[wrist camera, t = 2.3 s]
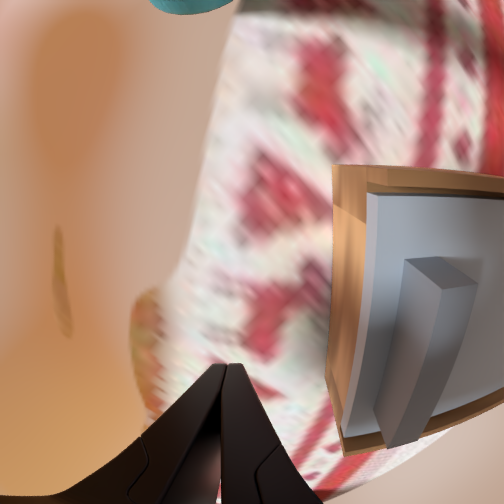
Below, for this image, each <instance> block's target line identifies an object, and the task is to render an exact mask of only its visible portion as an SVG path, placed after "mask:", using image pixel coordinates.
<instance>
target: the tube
mask: <svg viewBox="0 0 504 504" xmlns="http://www.w3.org/2000/svg"><path fill="white" fill-rule="evenodd" d="M232 1H233V0H150V2H151V3H152V4H153V5H154V6H155V7H156V8H158V9H159V10H162V11H164V12H166V13H171V14H178V15H191V14H199V13H204V12H209V11H212V10H214V9H217V8H220V7H222V6H224V5H226V4H228V3H230V2H232Z"/></svg>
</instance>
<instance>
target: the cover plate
mask: <svg viewBox="0 0 504 504" xmlns="http://www.w3.org/2000/svg"><path fill="white" fill-rule="evenodd" d="M502 387H504V198H503V197H491V196H477V195H460V194H438V193H398V192H367V220H366V248H365V265H364V279H363V290H362V300H361V310H360V318H359V326H358V334H357V341H356V348H355V354H354V360H353V366H352V372H351V377H350V383H349V388H348V393H347V398H346V402H345V407H344V411H343V416H342V420H341V428H342V432H343V436H344V438H346V437H352V436H358V435H363V434H368V433H373V432H377V431H381V433H382V436H383V439H384V442H385V445H386V447H387V449H390V448H394V447H398V446H401V445H405V444H408V443H411V442H415V441H418V439H419V437H420V436H421V434H422V432H423V430H424V428H425V427H426V425H427V423H428V421H429V419H430V417H432V416H435V415H438V414H441V413H444V412H447V411H449V410H452V409H455V408H457V407H460V406H462V405H465V404H467V403H470V402H472V401H474V400H477V399H479V398H481V397H484V396H486V395H488V394H490V393H492V392H494V391H496V390H498V389H500V388H502Z"/></svg>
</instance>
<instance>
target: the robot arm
mask: <svg viewBox="0 0 504 504" xmlns="http://www.w3.org/2000/svg"><path fill="white" fill-rule="evenodd" d="M220 479H221V504H323V502H322V501H321V500H320V499H319V498H318V497H317V495H316V494H315V493H314V492H313V491H312V489H311V488H310V487H309V486H308V485H307V483H306V482H305V481H304V479H303V478H302V476H301V475H300V474H299V472H298V471H297V469H296V468H295V466H294V464H293V463H292V461H291V459H290V458H289V456H288V454H287V452H286V450H285V449H284V447H283V445H282V443H281V441H280V439H279V437H278V436H277V434H276V432H275V430H274V428H273V426H272V424H271V422H270V420H269V418H268V416H267V414H266V412H265V410H264V408H263V406H262V404H261V402H260V400H259V398H258V395H257V393H256V391H255V389H254V387H253V385H252V383H251V381H250V379H249V377H248V374H247V372H246V370H245V368H244V366H243V364H241V363H230V364H228V365H227V364H225V363H215V364H212V365H211V366H210V367H209V368H208V369H207V370H206V371H205V372H204V373H203V374H202V375H201V376H200V377H199V378H198V379H197V380H196V381H195V382H194V383H193V385H192V386H191V387H190V388H189V389H188V390H187V391H186V392H185V393H184V394H183V395H182V396H181V397H180V398H179V399H178V400H177V401H176V402H175V403H174V404H172V405H171V406H170V407H169V408H168V409H167V410H166V411H165V412H164V413H163V414H162V415H161V416H160V417H159V418H158V419H157V420H156V421H155V422H154V423H153V424H152V425H151V426H150V427H149V428H148V429H147V430H146V431H145V432H143V433H142V434H141V437H138V438H137V439H136V440H135V441H134V442H133V443H132V444H130V445H129V446H128V447H127V448H126V449H125V450H123V451H122V452H121V453H120V454H119V455H118V456H116V457H115V458H114V459H112V460H111V461H110V462H108V463H107V464H106V465H104V466H103V467H101V468H100V469H98V470H97V471H95V472H94V473H92V474H91V475H89V476H88V477H86V478H85V479H83V480H82V481H80V482H78V483H77V484H75V485H74V486H72V487H71V488H69V489H67V490H65V491H63V492H60V493H57V494H54V495H48V496H5V495H0V504H216V499H217V494H218V489H219V484H220Z"/></svg>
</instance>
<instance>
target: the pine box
mask: <svg viewBox="0 0 504 504" xmlns="http://www.w3.org/2000/svg"><path fill="white" fill-rule="evenodd" d="M332 186H333V267H332V293H331V311H330V326H329V339H328V350H327V361H326V370H325V380H326V384H327V388H328V392H329V396H330V400H331V404H332V408H333V412H334V416H335V421H336V425H337V429H338V433H339V438H340V442H341V447H342V451H343V456H344V457H346V456H351V455H357V454H362V453H367V452H371V451H376V450H380V449H384V448H387V447H386V445H385V442H384V439H383V436H382V433H381V431H377V432H373V433H368V434H363V435H358V436H352V437H346V438H344V436H343V432H342V428H341V420H342V416H343V411H344V407H345V402H346V398H347V393H348V388H349V383H350V377H351V372H352V366H353V360H354V354H355V348H356V341H357V334H358V326H359V318H360V310H361V300H362V290H363V279H364V265H365V248H366V220H367V192H398V193H438V194H460V195H477V196H491V197H503V198H504V177H502V176H496V175H489V174H481V173H474V172H465V171H456V170H446V169H435V168H422V167H406V166H385V165H332ZM502 403H504V387H502V388H500V389H498V390H496V391H494V392H492V393H490V394H488V395H486V396H484V397H481V398H479V399H477V400H474V401H472V402H470V403H467V404H465V405H462V406H460V407H457V408H455V409H452V410H449V411H447V412H444V413H441V414H438V415H435V416H432V417H430V419H429V421H428V423H427V425H426V427H425V428H424V430H423V432H422V434H421V436H420V437H419V438H422V437H425V436H428V435H431V434H434V433H437V432H440V431H442V430H445V429H448V428H450V427H453V426H455V425H458V424H460V423H462V422H465V421H467V420H469V419H471V418H474V417H476V416H478V415H480V414H482V413H484V412H486V411H488V410H490V409H492V408H494V407H496V406H498V405H500V404H502Z"/></svg>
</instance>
